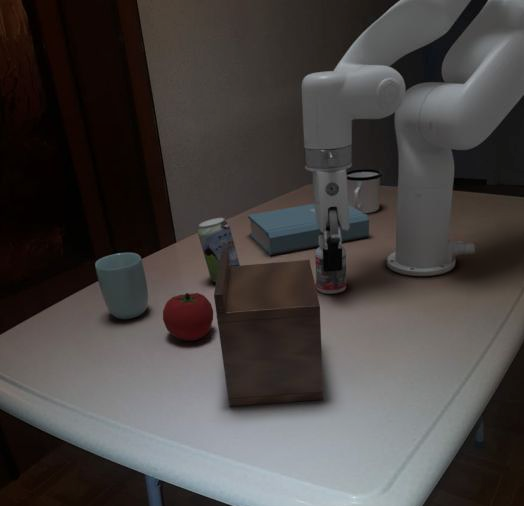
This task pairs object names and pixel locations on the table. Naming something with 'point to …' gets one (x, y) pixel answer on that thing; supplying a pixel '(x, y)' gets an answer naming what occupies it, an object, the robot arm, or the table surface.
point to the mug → (364, 189)
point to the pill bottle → (329, 280)
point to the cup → (123, 284)
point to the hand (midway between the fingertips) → (330, 263)
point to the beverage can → (216, 244)
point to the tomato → (188, 316)
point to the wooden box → (269, 332)
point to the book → (299, 228)
